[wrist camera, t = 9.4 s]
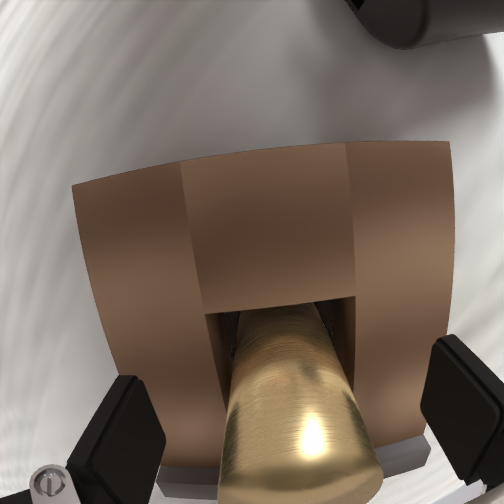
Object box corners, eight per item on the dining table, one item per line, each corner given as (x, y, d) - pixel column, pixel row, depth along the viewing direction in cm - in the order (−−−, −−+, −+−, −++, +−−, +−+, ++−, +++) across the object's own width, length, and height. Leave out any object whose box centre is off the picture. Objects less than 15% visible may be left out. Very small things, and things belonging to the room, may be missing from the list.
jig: (115, 182, 14) (53, 187, 9) (404, 148, 13) (467, 139, 8) (182, 437, 17) (166, 498, 12) (395, 412, 17) (423, 467, 12)
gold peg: (233, 290, 15) (199, 458, 5) (316, 280, 15) (396, 433, 5) (244, 360, 16) (232, 531, 6) (320, 351, 16) (371, 514, 6)
